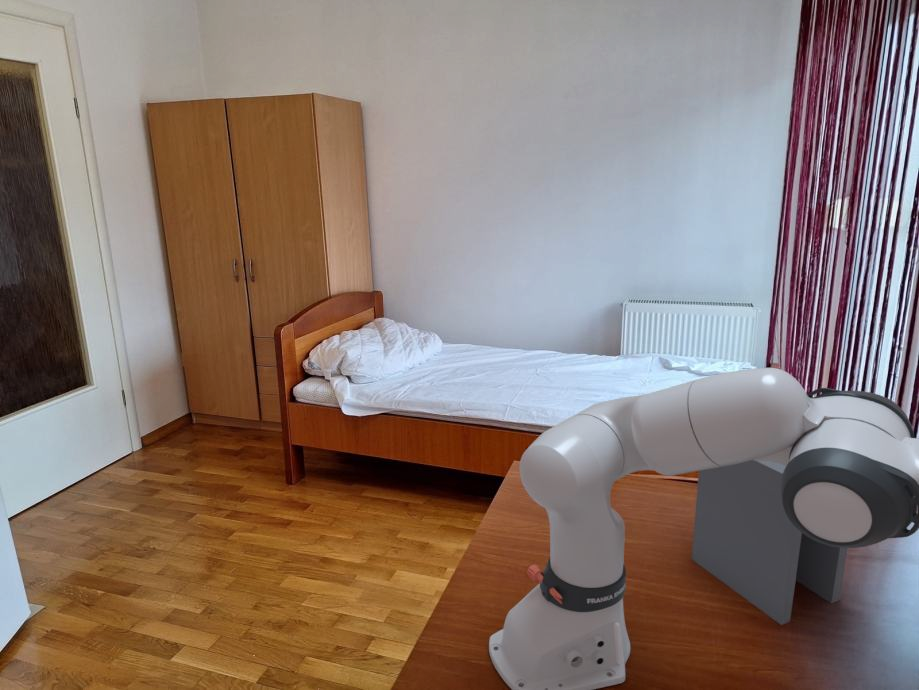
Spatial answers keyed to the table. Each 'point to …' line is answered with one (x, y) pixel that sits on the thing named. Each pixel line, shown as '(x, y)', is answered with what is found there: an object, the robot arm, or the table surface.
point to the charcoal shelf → (759, 540)
